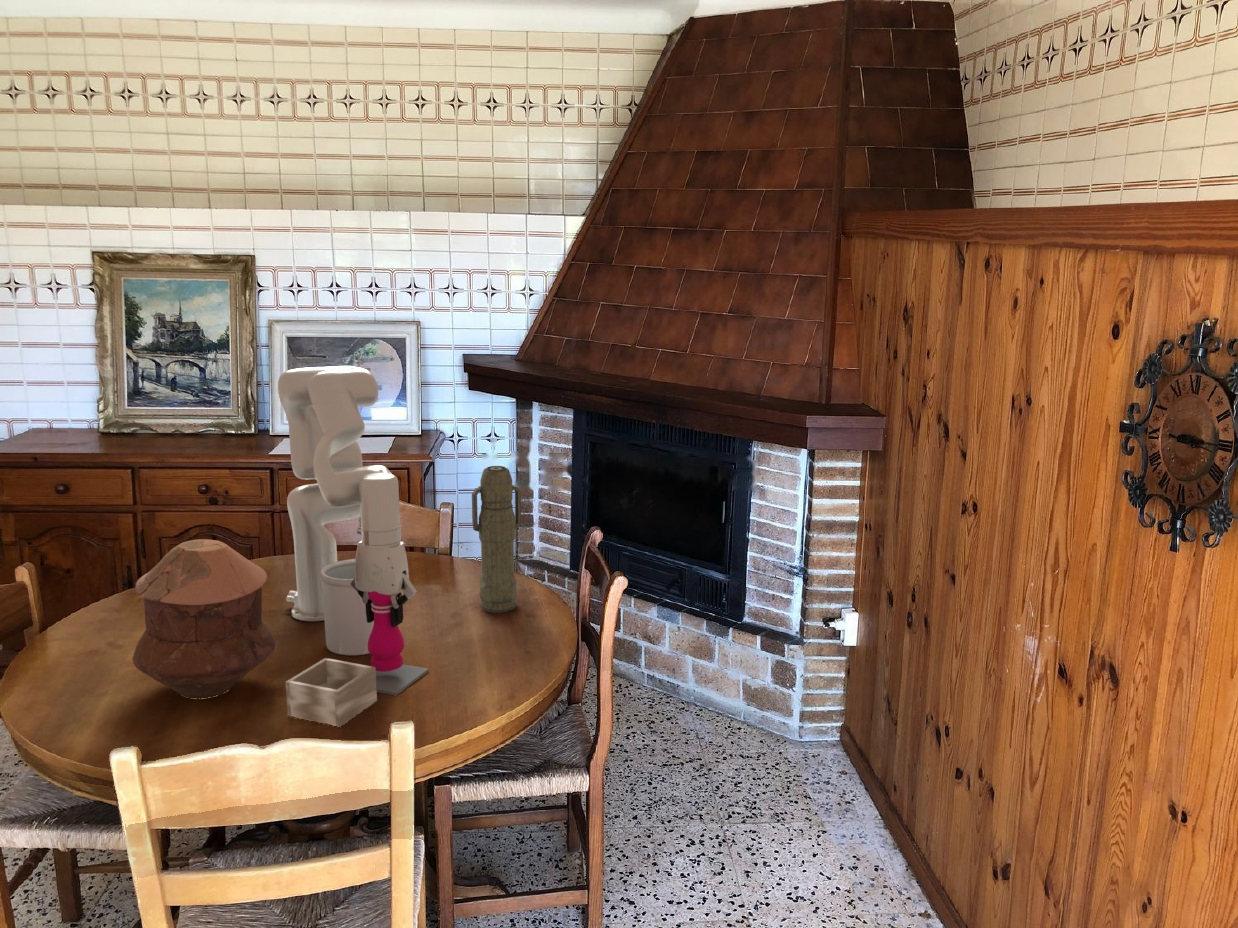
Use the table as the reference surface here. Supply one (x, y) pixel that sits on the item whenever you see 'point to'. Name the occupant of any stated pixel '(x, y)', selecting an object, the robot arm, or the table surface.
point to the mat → (398, 679)
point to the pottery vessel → (202, 619)
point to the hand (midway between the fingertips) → (384, 621)
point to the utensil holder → (344, 610)
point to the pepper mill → (384, 635)
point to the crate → (331, 691)
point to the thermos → (497, 538)
